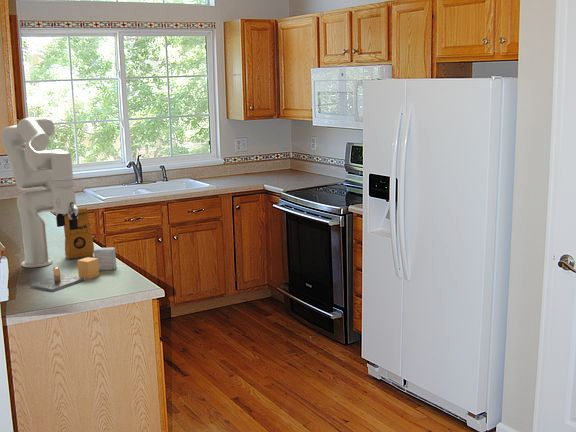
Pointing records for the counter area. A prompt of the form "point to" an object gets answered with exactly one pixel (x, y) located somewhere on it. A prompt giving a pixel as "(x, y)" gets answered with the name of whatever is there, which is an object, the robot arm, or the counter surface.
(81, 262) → the light orange block
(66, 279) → the base
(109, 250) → the medicine box
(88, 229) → the coffee package
